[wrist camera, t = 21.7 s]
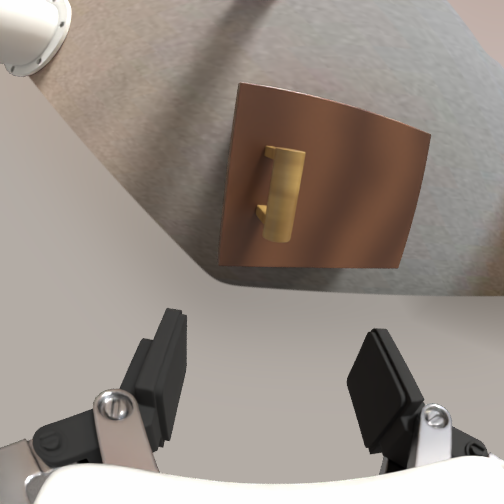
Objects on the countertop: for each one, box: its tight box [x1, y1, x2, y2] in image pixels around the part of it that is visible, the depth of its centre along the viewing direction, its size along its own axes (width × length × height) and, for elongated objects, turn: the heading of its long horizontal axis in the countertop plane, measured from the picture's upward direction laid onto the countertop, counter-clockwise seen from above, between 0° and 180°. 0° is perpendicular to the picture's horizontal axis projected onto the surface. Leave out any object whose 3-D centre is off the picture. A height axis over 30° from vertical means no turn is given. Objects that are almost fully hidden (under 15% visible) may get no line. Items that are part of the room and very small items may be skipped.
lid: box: [217, 82, 431, 268], centre depth 19 cm, size 16×13×5 cm
